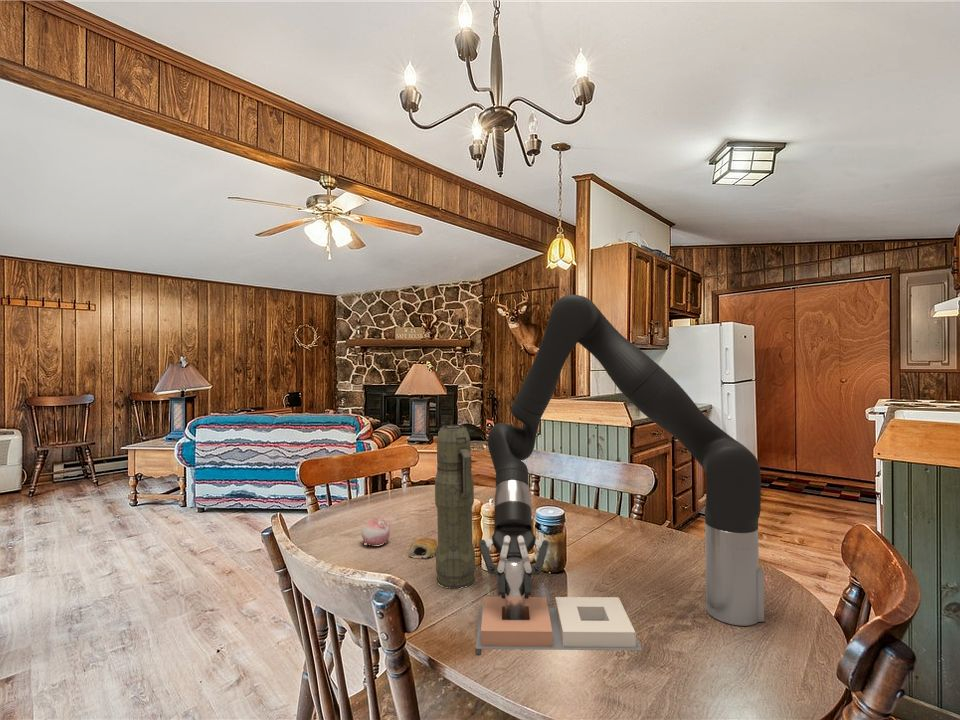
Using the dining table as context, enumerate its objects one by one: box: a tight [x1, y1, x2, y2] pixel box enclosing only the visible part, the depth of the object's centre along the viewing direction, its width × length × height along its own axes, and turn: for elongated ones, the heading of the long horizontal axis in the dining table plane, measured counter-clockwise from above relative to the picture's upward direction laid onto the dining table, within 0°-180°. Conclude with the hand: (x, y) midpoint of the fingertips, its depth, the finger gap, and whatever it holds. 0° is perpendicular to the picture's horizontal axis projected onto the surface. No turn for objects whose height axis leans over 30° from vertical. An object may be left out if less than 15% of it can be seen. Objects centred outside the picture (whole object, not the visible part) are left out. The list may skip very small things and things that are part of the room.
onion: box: [361, 517, 391, 546], centre depth 135 cm, size 8×8×7 cm
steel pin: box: [504, 557, 525, 620], centre depth 91 cm, size 4×4×10 cm
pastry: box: [408, 537, 438, 559], centre depth 129 cm, size 9×7×4 cm
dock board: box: [475, 596, 643, 655], centre depth 90 cm, size 28×14×4 cm, turn 87°
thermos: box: [434, 424, 476, 589], centre depth 112 cm, size 9×12×35 cm
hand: (515, 596), depth 89 cm, fingers closed on steel pin, 3 cm apart
